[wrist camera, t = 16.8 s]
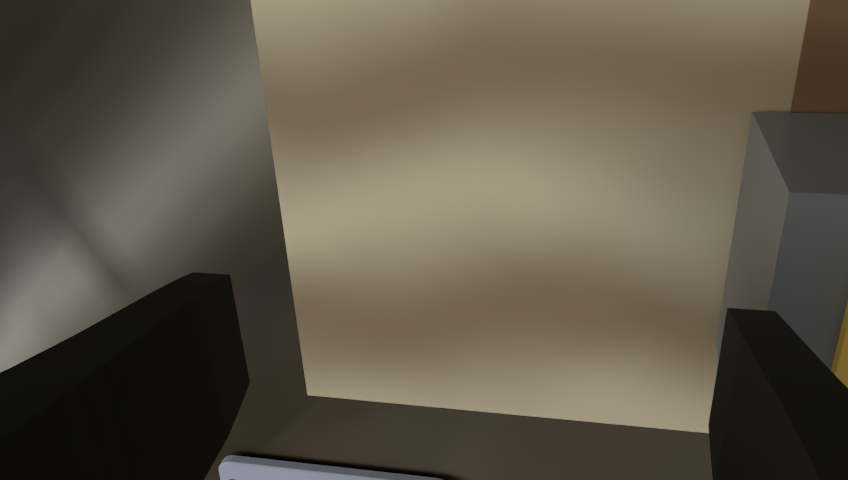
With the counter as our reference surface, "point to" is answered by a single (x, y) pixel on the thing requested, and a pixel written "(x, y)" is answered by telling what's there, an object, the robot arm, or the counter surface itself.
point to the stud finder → (794, 230)
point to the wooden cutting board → (526, 191)
